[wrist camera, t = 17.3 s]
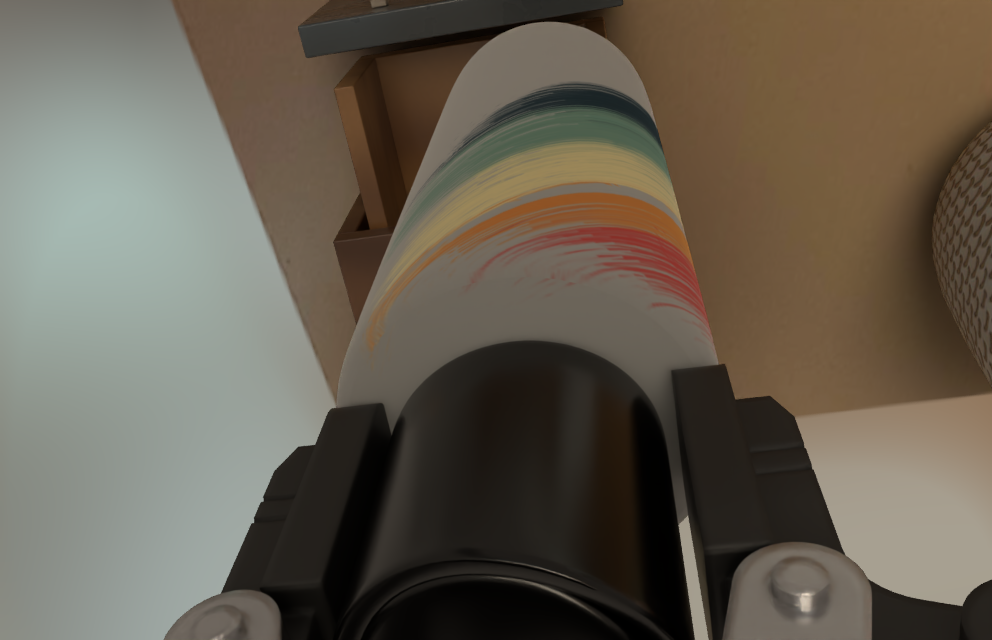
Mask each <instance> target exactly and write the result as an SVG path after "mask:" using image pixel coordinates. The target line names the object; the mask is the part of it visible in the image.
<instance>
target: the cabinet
mask: <svg viewBox="0 0 992 640" xmlns="http://www.w3.org/2000/svg"><path fill="white" fill-rule="evenodd" d="M395 228H396V226H393V227H386V228H379V229H372V230H370V227H369V224H368V220H367V216H366V212H365V208H364V204H363V200H362V196H361V192H360V194H359V196H358V197H357V199H356V201H355V203H354V205H353V207H352V209H351V210H350V212H349V214H348V216H347V218H346V220H345V221H344V223H343V225H342V227H341V229H340V231H339V232H338V234H337V236H336V238H335V240H334V242H333V243H334V247H335V250H336V254H337V257H338V261H339V264H340V268H341V272H342V275H343V279H344V282H345V286H346V289H347V293H348V297H349V300H350V304H351V307H352V311H353V315H354V318H355V322H356V325H357V323H358V320H359V318H360V315H361V313H362V310H363V307H364V305H365V302H366V300H367V297H368V295H369V292H370V290H371V287H372V285H373V282H374V280H375V277H376V275H377V272H378V270H379V267H380V265H381V262H382V260H383V257H384V255H385V252H386V250H387V247H388V245H389V242H390V240H391V237H392V235H393V233H394V230H395Z"/></svg>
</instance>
